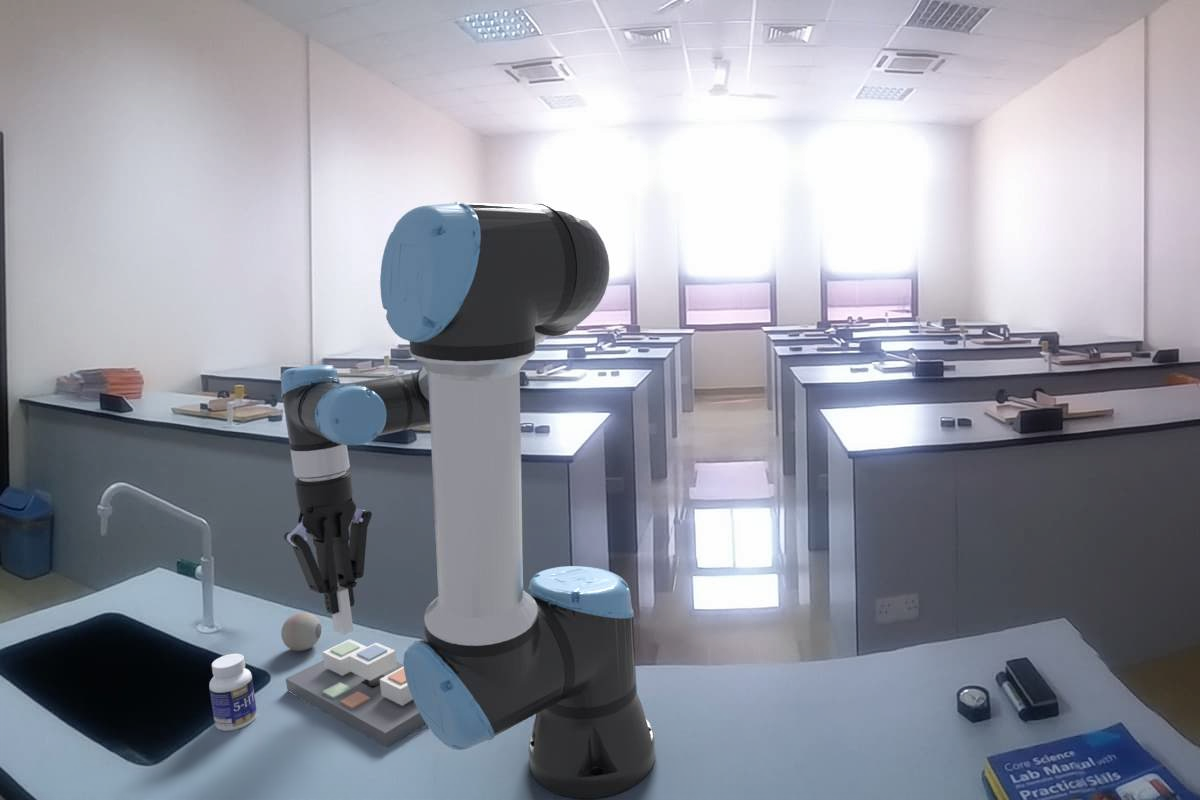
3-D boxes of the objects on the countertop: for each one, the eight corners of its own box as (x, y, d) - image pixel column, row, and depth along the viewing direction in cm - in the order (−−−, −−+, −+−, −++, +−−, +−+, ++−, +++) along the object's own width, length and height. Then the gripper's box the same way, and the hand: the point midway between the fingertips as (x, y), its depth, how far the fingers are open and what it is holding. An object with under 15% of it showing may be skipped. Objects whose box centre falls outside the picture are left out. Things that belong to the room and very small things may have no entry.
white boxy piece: (398, 679, 110) (395, 649, 109) (371, 694, 106) (367, 663, 106) (379, 670, 113) (376, 640, 112) (352, 684, 109) (348, 654, 109)
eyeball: (315, 657, 122) (310, 621, 121) (277, 659, 122) (272, 623, 121) (329, 638, 128) (324, 605, 127) (292, 640, 128) (288, 607, 127)
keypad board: (459, 702, 106) (457, 687, 106) (387, 747, 97) (385, 730, 97) (358, 655, 121) (356, 642, 121) (287, 691, 112) (285, 676, 112)
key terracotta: (431, 703, 106) (427, 672, 105) (404, 719, 102) (400, 687, 102) (410, 693, 109) (406, 662, 108) (383, 708, 105) (379, 677, 104)
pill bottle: (241, 733, 102) (231, 671, 101) (206, 730, 103) (196, 670, 102) (265, 710, 107) (256, 651, 106) (232, 708, 109) (223, 650, 107)
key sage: (371, 674, 115) (367, 645, 114) (343, 688, 111) (340, 658, 110) (353, 665, 117) (349, 637, 117) (326, 679, 114) (322, 650, 113)
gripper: (347, 461, 116) (366, 608, 120) (265, 483, 106) (289, 642, 110) (377, 466, 112) (396, 618, 115) (293, 489, 102) (317, 655, 105)
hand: (343, 630), depth 113 cm, fingers closed
